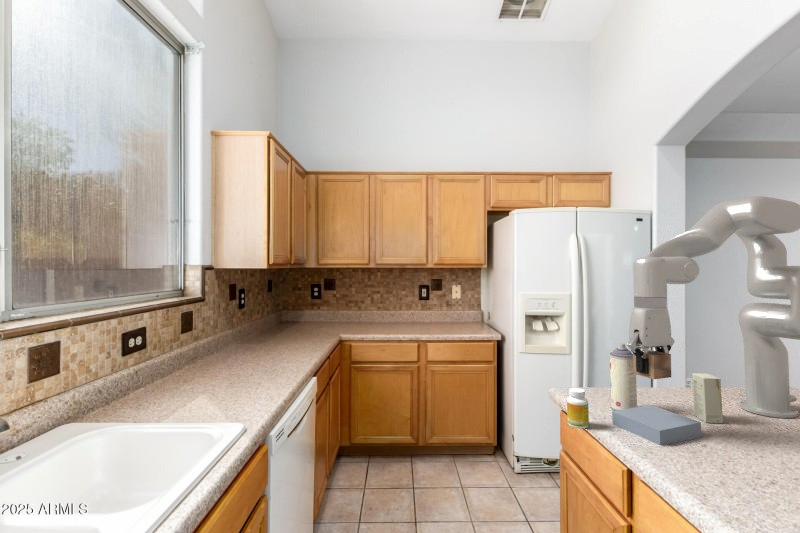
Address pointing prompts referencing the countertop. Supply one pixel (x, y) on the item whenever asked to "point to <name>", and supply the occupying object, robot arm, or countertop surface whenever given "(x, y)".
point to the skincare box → (707, 397)
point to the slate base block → (656, 424)
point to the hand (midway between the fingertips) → (651, 370)
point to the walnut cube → (656, 365)
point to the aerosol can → (622, 379)
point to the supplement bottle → (577, 409)
